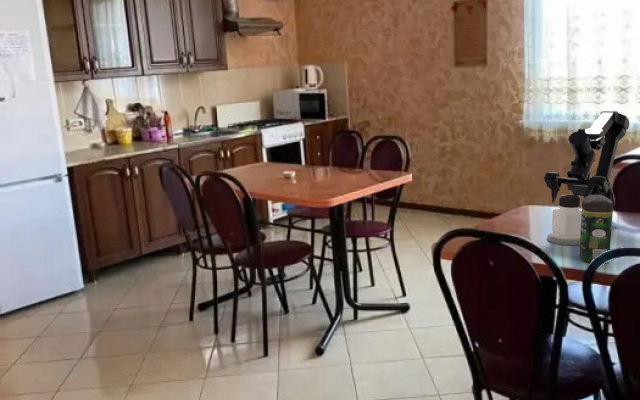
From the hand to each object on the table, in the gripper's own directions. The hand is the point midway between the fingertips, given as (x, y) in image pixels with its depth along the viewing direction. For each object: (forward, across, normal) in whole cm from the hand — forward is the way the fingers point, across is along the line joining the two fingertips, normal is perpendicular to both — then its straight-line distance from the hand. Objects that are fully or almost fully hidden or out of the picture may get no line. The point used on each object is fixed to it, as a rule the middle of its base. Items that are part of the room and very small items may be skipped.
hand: (567, 204), depth 195 cm
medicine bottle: (+6, 0, -8) cm, 10 cm away
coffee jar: (+18, -13, +1) cm, 22 cm away
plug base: (+8, 0, -10) cm, 12 cm away
